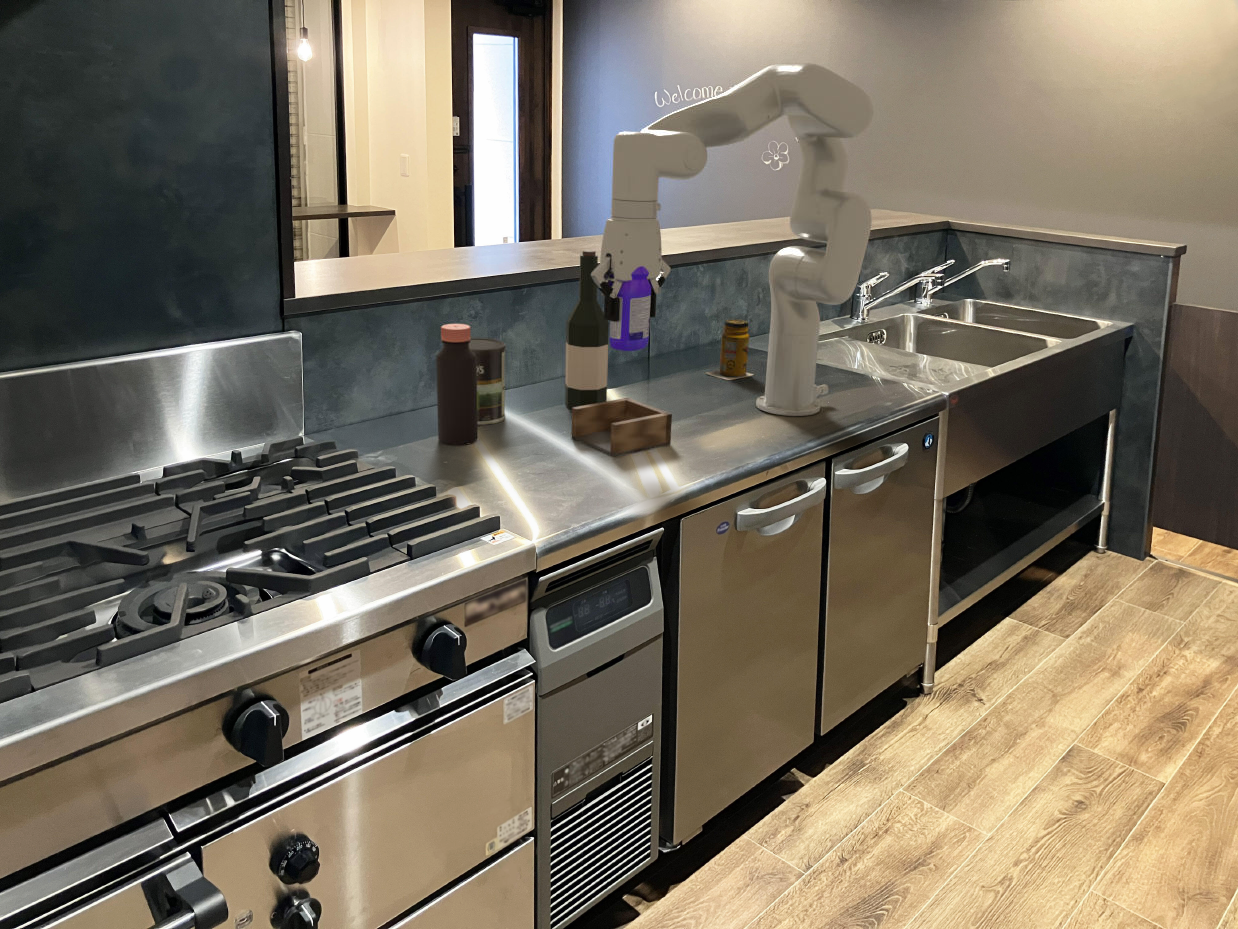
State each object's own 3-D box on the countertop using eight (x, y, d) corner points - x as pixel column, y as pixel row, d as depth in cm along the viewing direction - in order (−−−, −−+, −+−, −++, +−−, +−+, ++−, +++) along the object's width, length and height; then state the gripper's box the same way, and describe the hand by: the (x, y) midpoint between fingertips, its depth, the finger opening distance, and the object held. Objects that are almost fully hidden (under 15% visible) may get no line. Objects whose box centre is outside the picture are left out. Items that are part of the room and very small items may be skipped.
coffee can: (489, 428, 188) (489, 352, 183) (439, 420, 191) (437, 345, 187) (515, 414, 197) (515, 341, 192) (467, 407, 200) (466, 335, 196)
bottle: (626, 342, 182) (630, 241, 176) (654, 347, 179) (659, 245, 173) (603, 349, 176) (606, 245, 170) (631, 354, 173) (635, 248, 167)
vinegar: (443, 447, 177) (440, 331, 170) (434, 436, 183) (430, 323, 176) (482, 443, 179) (481, 329, 173) (471, 432, 185) (469, 321, 179)
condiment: (754, 375, 232) (758, 322, 228) (729, 381, 226) (733, 326, 222) (729, 368, 237) (732, 316, 233) (704, 374, 231) (707, 321, 227)
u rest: (626, 427, 191) (627, 397, 189) (670, 444, 182) (671, 414, 180) (571, 438, 184) (572, 407, 182) (614, 457, 175) (615, 425, 173)
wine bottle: (601, 412, 200) (606, 255, 190) (559, 409, 201) (561, 252, 191) (610, 401, 207) (615, 249, 198) (570, 398, 209) (572, 246, 199)
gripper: (659, 207, 178) (654, 310, 184) (577, 210, 167) (575, 319, 173) (688, 211, 172) (682, 317, 178) (606, 214, 162) (603, 327, 168)
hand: (629, 317), depth 176 cm, fingers closed on bottle, 7 cm apart
